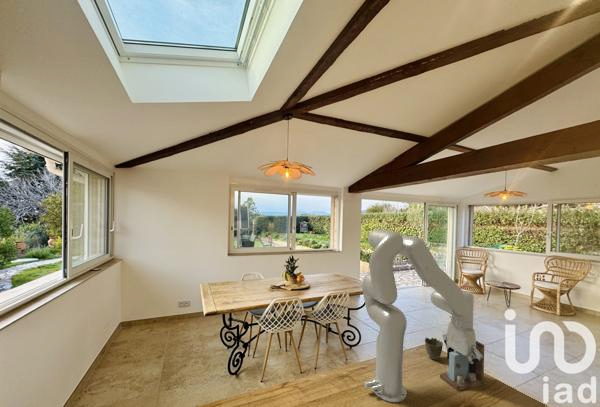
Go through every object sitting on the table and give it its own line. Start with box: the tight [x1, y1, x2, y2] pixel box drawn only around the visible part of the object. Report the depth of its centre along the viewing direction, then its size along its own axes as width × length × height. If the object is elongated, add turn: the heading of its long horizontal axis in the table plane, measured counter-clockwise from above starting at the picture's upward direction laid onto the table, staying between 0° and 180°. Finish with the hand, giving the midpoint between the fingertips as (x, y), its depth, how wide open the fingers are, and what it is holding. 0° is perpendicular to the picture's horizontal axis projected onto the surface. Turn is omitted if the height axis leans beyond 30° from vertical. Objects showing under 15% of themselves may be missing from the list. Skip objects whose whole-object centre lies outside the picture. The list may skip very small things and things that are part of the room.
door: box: [448, 350, 473, 381], centre depth 107 cm, size 10×3×10 cm, turn 108°
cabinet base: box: [439, 340, 485, 391], centre depth 107 cm, size 14×8×16 cm, turn 108°
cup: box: [424, 337, 444, 361], centre depth 123 cm, size 8×7×8 cm
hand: (460, 365), depth 107 cm, fingers open, 9 cm apart
